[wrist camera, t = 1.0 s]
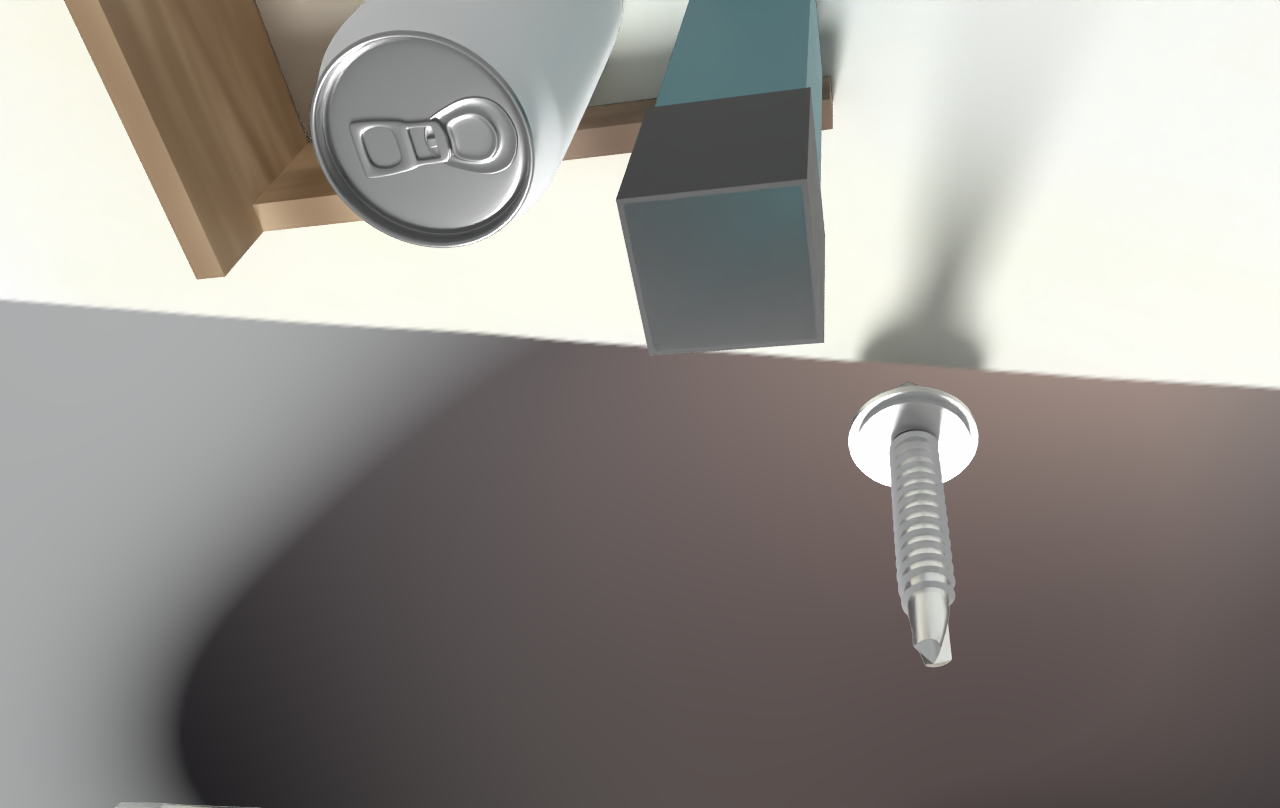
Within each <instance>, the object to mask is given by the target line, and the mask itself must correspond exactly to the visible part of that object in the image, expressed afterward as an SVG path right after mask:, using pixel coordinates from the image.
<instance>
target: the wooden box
mask: <svg viewBox="0 0 1280 808" xmlns="http://www.w3.org/2000/svg"><path fill="white" fill-rule="evenodd" d="M64 1H65V3H66V6H67V8H68V10H69V12H70V14H71V16H72V18H73V20H74V22H75V24H76V27H77V29H78V31H79V33H80V35H81V37H82V39H83V41H84V43H85V45H86V48H87V50H88V52H89V54H90V56H91V58H92V60H93V62H94V64H95V66H96V69H97V71H98V73H99V75H100V77H101V79H102V81H103V83H104V85H105V87H106V90H107V92H108V94H109V96H110V98H111V100H112V102H113V104H114V106H115V108H116V111H117V113H118V115H119V117H120V119H121V121H122V123H123V125H124V127H125V129H126V132H127V134H128V136H129V138H130V140H131V142H132V144H133V146H134V148H135V150H136V153H137V155H138V157H139V159H140V161H141V163H142V165H143V167H144V169H145V171H146V174H147V176H148V178H149V180H150V182H151V184H152V186H153V188H154V190H155V192H156V195H157V197H158V199H159V201H160V203H161V205H162V207H163V209H164V211H165V213H166V216H167V218H168V220H169V222H170V224H171V226H172V228H173V230H174V232H175V234H176V237H177V239H178V241H179V243H180V245H181V247H182V249H183V251H184V253H185V255H186V258H187V260H188V262H189V264H190V266H191V268H192V270H193V272H194V274H195V276H196V279H205V278H215V277H225V276H226V275H227V274H228V272H229V271H230V270H231V269H232V268H233V266H234V265H235V264H236V263H237V262H238V261H239V259H240V258H241V257H242V256H243V255H244V254H245V252H246V251H247V250H248V249H249V248H250V247H251V245H252V244H253V243H254V242H255V241H256V240H257V238H258V237H259V236H260V235H261V234H262V232H263V231H272V230H281V229H290V228H299V227H308V226H318V225H327V224H336V223H345V222H354V221H363V219H361V218H360V217H359V216H358V215H357V214H355V213H354V212H353V211H352V210H351V209H350V208H349V207H348V206H347V205H346V204H345V203H344V202H343V201H342V200H341V198H340V197H339V196H338V195H337V193H336V192H335V191H334V189H333V188H332V187H331V185H330V184H329V182H328V180H327V179H326V177H325V175H324V173H323V171H322V169H321V167H320V165H319V162H318V160H317V157H316V154H315V151H314V147H313V143H312V142H310V143H308V141H307V138H306V136H305V133H304V130H303V128H302V125H301V122H300V120H299V117H298V114H297V112H296V109H295V107H294V104H293V101H292V99H291V96H290V93H289V91H288V88H287V85H286V83H285V80H284V77H283V75H282V72H281V70H280V67H279V64H278V62H277V59H276V56H275V54H274V51H273V48H272V46H271V43H270V40H269V38H268V35H267V33H266V30H265V27H264V25H263V22H262V19H261V17H260V14H259V11H258V9H257V6H256V3H255V1H254V0H64ZM656 101H657V98H655V99H647V100H639V101H631V102H624V103H616V104H608V105H600V106H592V107H587V108H586V110H585V112H584V114H583V117H582V119H581V121H580V123H579V125H578V128H577V130H576V132H575V134H574V136H573V138H572V141H571V143H570V145H569V147H568V149H567V151H566V154H565V156H564V158H563V160H572V159H580V158H589V157H597V156H606V155H614V154H623V153H632V151H633V148H634V145H635V142H636V139H637V136H638V133H639V130H640V127H641V124H642V122H643V119H644V116H645V113H646V110H647V108H649V107H655V104H656ZM827 129H833V104H832V92H831V81H830V76H827V77H822V124H821V130H827ZM563 160H562V161H563Z"/></svg>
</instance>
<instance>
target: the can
mask: <svg viewBox="0 0 1280 808" xmlns="http://www.w3.org/2000/svg"><path fill="white" fill-rule="evenodd" d="M622 12H623V1H622V0H366V1H365V2H364V3H363V4H362V5H361V6H360V7H359V8H358V9H357V10H356V11H355V12H354V13H353V14H352V15H351V16H350V17H349V18H348V19H347V20H346V21H345V22H344V23H343V25H342V26H341V27H340V28H339V30H338V31H337V33H336V34H335V36H334V37H333V39H332V41H331V42H330V44H329V46H328V48H327V50H326V52H325V55H324V57H323V60H322V63H321V67H320V71H319V77H318V82H317V85H316V87H315V90H314V93H313V97H312V102H311V108H310V131H311V138H312V143H313V147H314V151H315V154H316V157H317V160H318V162H319V165H320V167H321V169H322V171H323V173H324V175H325V177H326V179H327V180H328V182H329V184H330V185H331V187H332V188H333V189H334V191H335V192H336V193H337V195H338V196H339V197H340V198H341V200H342V201H343V202H344V203H345V204H346V205H347V206H348V207H349V208H350V209H351V210H352V211H353V212H354V213H355V214H357V215H358V216H359V217H360V218H361V219H363V220H364V221H365V222H367V223H368V224H370V225H371V226H373V227H374V228H376V229H378V230H379V231H381V232H383V233H385V234H387V235H389V236H391V237H394V238H396V239H399V240H401V241H404V242H408V243H411V244H415V245H420V246H426V247H436V248H449V247H459V246H464V245H468V244H472V243H475V242H478V241H481V240H483V239H485V238H487V237H489V236H491V235H493V234H495V233H496V232H498V231H499V230H500V229H502V228H503V227H504V226H505V225H507V224H508V223H509V222H510V221H512V220H514V219H515V218H517V217H519V216H520V215H522V214H523V213H524V212H526V211H527V210H528V209H529V208H530V207H531V206H533V205H534V204H535V202H536V201H537V200H538V199H539V198H540V197H541V195H542V194H543V193H544V192H545V190H546V189H547V187H548V186H549V184H550V183H551V181H552V179H553V178H554V176H555V174H556V172H557V170H558V168H559V166H560V164H561V162H562V160H563V158H564V156H565V154H566V151H567V149H568V147H569V145H570V143H571V141H572V138H573V136H574V134H575V132H576V130H577V128H578V125H579V123H580V121H581V119H582V117H583V114H584V112H585V110H586V108H587V105H588V103H589V101H590V99H591V97H592V94H593V92H594V90H595V88H596V85H597V83H598V81H599V79H600V77H601V74H602V72H603V70H604V67H605V65H606V63H607V61H608V58H609V56H610V54H611V51H612V49H613V46H614V44H615V41H616V38H617V35H618V32H619V28H620V24H621V19H622Z"/></svg>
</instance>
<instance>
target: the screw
mask: <svg viewBox="0 0 1280 808" xmlns="http://www.w3.org/2000/svg"><path fill="white" fill-rule="evenodd" d="M977 445H978V430H977V426H976V422H975V419H974V417H973V415H972V413H971V412H970V410H969V408H968V407H967V406H966V405H964V404H963V403H962V402H961V401H960V400H959V399H958V398H956V397H954V396H953V395H951V394H949V393H947V392H944V391H942V390H939V389H936V388H930V387H924V386H918V385H915V384H913V383H910V382H906V383H904V384H902V385H901V386H899V387H897V388H895V389H892V390H889V391H886V392H883V393H881V394H879V395H877V396H875V397H874V398H872V399H871V400H869V401H868V402H867V403H866V404H864V405H863V407H861V408H860V409H859V411H858V412H857V414H856V415H855V416H854V418H853V420H852V423H851V426H850V429H849V447H850V452H851V456H852V458H853V459H854V461H855V463H856V465H857V466H858V467H859V468H860V469H861V470H862V471H863V473H865V474H866V475H868V476H869V477H870V478H872V479H873V480H875V481H878V482H880V483H882V484H884V485H888V486H891V489H892V491H891V497H892V500H893V501H892V509H893V521H894V526H893V527H894V533H895V536H894V542H895V545H896V547H895V554H896V558H897V559H896V568H897V581H898V584H899V585H898V592H899V595H900V597H901V599H902V601H901V605H902V608H903V610H904V612H905V613H906V614H907V615H908V616H909V620H910V624H911V628H912V636H913V646H914V647H915V648H916V649H917V650H918V651H919V652H920V655H921V657H922V659H923V661H924V663H925V665H926V666H929V667H938V666H942V665H945V664H947V663H948V662H949V661H951V660H952V656H951V647H950V638H949V630H948V619H949V606H950V605H951V604H952V602H953V601H954V599H955V592H954V590H953V588H954V586H955V578H954V576H953V570H954V568H953V564H952V562H951V560H952V553H951V551H950V546H951V543H950V539H949V538H948V536H949V529H948V526H947V523H948V518H947V516H946V505H945V503H944V502H945V495H944V493H943V490H944V486H943V482H945V481H948V480H950V479H951V478H953V477H955V476H956V475H958V474H959V473H960V472H961V471H962V470H963V469H964V468H965V467H966V466H967V465H968V464H969V463H970V461H971V460H972V458H973V456H974V455H975V451H976V448H977Z"/></svg>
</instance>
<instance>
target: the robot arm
mask: <svg viewBox="0 0 1280 808" xmlns="http://www.w3.org/2000/svg"><path fill="white" fill-rule="evenodd" d="M115 808H250V807H225V806H197V805H176V804H169V803H132V802H130V803H129V802H128V803H127V802H120V803H119V804H118V805H117V806H116V807H115ZM251 808H253V807H251Z"/></svg>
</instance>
